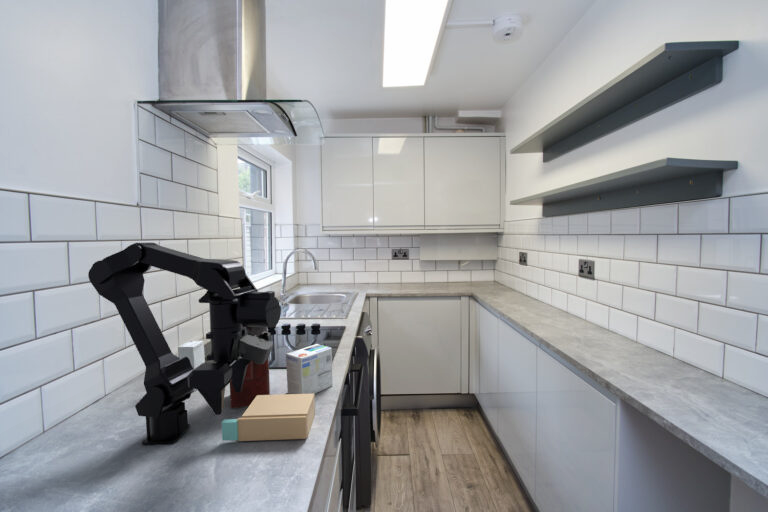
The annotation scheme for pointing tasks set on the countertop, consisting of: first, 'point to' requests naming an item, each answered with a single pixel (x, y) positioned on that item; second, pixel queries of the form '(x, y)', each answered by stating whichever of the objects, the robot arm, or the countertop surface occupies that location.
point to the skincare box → (193, 353)
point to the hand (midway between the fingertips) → (229, 402)
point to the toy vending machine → (252, 378)
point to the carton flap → (265, 428)
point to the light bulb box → (309, 369)
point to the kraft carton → (283, 407)
